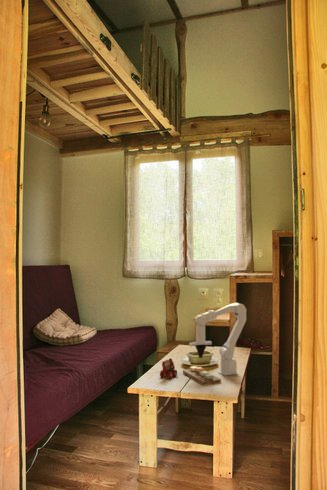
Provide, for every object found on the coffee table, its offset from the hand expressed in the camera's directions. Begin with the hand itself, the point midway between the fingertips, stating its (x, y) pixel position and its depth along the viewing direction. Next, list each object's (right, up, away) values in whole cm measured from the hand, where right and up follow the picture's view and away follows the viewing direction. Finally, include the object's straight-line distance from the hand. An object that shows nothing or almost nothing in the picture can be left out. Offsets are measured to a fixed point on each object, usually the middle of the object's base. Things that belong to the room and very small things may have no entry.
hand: (200, 357), depth 244 cm
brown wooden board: (0, -10, -8) cm, 13 cm away
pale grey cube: (+3, -9, -16) cm, 19 cm away
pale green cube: (+1, -10, -10) cm, 14 cm away
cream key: (-4, -10, +1) cm, 11 cm away
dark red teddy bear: (-20, -10, -6) cm, 23 cm away
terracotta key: (-1, -9, -5) cm, 10 cm away
